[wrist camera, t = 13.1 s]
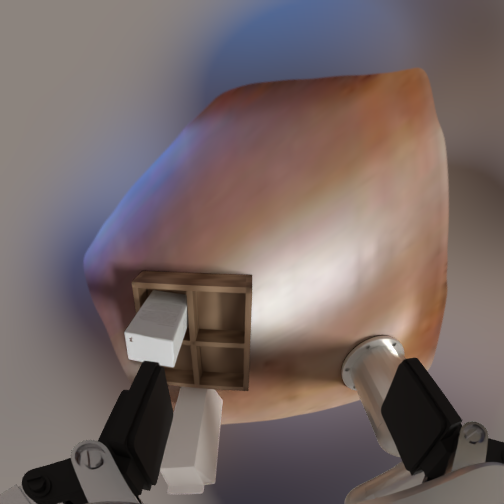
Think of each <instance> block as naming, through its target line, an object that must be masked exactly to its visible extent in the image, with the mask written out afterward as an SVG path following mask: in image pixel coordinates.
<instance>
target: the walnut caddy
mask: <svg viewBox="0 0 504 504" xmlns="http://www.w3.org/2000/svg"><path fill="white" fill-rule="evenodd" d="M132 289H133V296H134V303H135V310H136V314H137V312H138V311H139V310H140V308H141V307H142V305H143V304H144V302H145V301H146V299H147V298H148V297H149V295H150V294H151V292H152V291H153V290H157V291H164V292H171V293H178V294H186V295H187V308H188V322H189V323H188V326H187V329H186V332H185V335H184V338H183V341H182V344H181V347H180V350H179V353H178V356H177V360H176V363H175V366H174V367H167V366H162V367H164V370H165V375H166V380H167V385H172V386H181V387H192V388H203V389H218V390H240V391H248V386H249V360H250V334H251V307H252V275H236V274H207V273H183V272H161V271H142V272H141V273H140V274H139V275H138V276H137V277H136V278H135V279H134V280H133V281H132ZM160 366H161V365H160Z"/></svg>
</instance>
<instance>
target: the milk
mask: <svg viewBox="0 0 504 504" xmlns="http://www.w3.org/2000/svg"><path fill="white" fill-rule="evenodd" d="M222 404H223V400H222V399H221V397H220V396H219V395H218V393H217V392H216V390H215V389H203V388H192V387H181V388H180V391H179V395H178V399H177V402H176V406H175V409H174V413H173V421H172V424H171V428H170V432H169V436H168V440H167V444H166V448H165V451H164V455H163V459H162V463H161V467H160V471H161V473H162V475H163V477H164V479H165V481H166V483H167V484H168V491H167V493H168V494H201V493H203V491H204V485H208V484H214V483H215V477H216V467H217V456H218V445H219V434H220V424H221V414H222Z"/></svg>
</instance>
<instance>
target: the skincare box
mask: <svg viewBox="0 0 504 504" xmlns="http://www.w3.org/2000/svg"><path fill="white" fill-rule="evenodd" d="M188 323H189V322H188V308H187V295H186V294H178V293H171V292H164V291H157V290H153V291H152V292H151V294H150V295H149V297H148V298H147V299H146V301H145V302H144V304H143V305H142V307H141V308H140V310H139V311H138V312H137V314H136V315H135V317H134V318H133V320H132V321H131V323H130V324H129V326H128V327H127V329H126V330H125V332H124V334H125V340H126V346H127V353H128V359H129V360H135V361H140V362H143V361H151V362H158V363H159V364H160V365H161V366H167V367H174V366H175V363H176V360H177V356H178V353H179V350H180V347H181V344H182V341H183V338H184V335H185V332H186V329H187V326H188Z"/></svg>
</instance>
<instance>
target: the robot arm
mask: <svg viewBox="0 0 504 504" xmlns="http://www.w3.org/2000/svg"><path fill="white" fill-rule="evenodd" d="M341 375H342V379H343V381H344V383H345V385H346V386H347V387H349V388H350V389H352V390H356V391H357V392H358V395H359V397H360V399H361V402H362V404H363V406H364V409H365V411H366V413H367V416H368V418H369V421H370V423H371V425H372V428H373V430H374V433H375V435H376V438H377V440H378V443H379V444H380V446H381V447H382V449H384V450H385V451H386V452H388V453H389V454H391V455H395V456H397V457H401V459H402V462H401V463H399V464H398V465H396V466H395V467H393V468H392V469H390V470H388V471H386V472H385V473H383V474H381V475H379V476H377V477H375V478H373V479H371V480H369V481H367V482H365V483H363V484H361V485H359V486H357V487H356V488H354V489H353V490H352V491H350V492H349V493H348V495H347V497H346V499H345V504H504V442H499V441H496V440H492V439H489V438H488V432H487V430H486V428H485V427H484V426H483V425H482V424H480V423H478V422H473V421H472V422H467V423H465V424H464V425H463V426H462V425H461V422H462V420H461V418H460V417H459V415H458V414H457V412H456V411H455V409H454V408H453V406H452V405H451V404H450V402H449V401H448V399H447V398H446V396H445V395H444V394H443V392H442V391H441V389H440V388H439V387H438V385H437V384H436V383H435V381H434V380H433V378H432V377H431V376H430V375H429V373H428V372H427V370H426V369H425V368H424V366H423V365H422V364H421V362H420V361H419V360H418V359H417V358H410V359H406V358H405V357H404V349H403V346H402V345H401V343H400V342H399V341H398V340H397V339H395V338H393V337H391V336H377V337H373V338H371V339H368V340H366V341H364V342H362V343H361V344H359V345H358V346H357V347H355V348H354V349H353V350H352V351H351V352H350V353H349V355H348V356H347V357H346V359H345V361H344V362H343V365H342V369H341ZM172 421H173V409H172V404H171V400H170V395H169V390H168V385H167V380H166V375H165V370H164V367H162V366H160V364H159V363H158V362H151V361H143V363H142V365H141V367H140V369H139V371H138V373H137V375H136V377H135V379H134V381H133V383H132V385H131V388H130V390H123V391H122V392H121V394H120V396H119V398H118V400H117V402H116V404H115V406H114V408H113V410H112V412H111V414H110V416H109V419H108V420H107V423H106V425H105V427H104V429H103V431H102V433H101V435H100V438H99V440H98V441H95V440H86V441H82V442H80V443H78V444H77V445H76V446H75V447H74V448H73V450H72V452H71V458H69V459H66V460H63V461H60V462H56V463H54V464H50V465H47V466H43V467H39V468H35V469H32V470H30V471H28V472H27V473H26V474H25V475H24V477H23V479H22V485H21V486H19V487H18V486H17V485H15V486H13V487H11V488H10V489H8V490H6V491H5V492H3V493H2V494H0V504H143V502H142V501H141V499H140V498H139V495H141V493H142V489H144V490H149V491H150V489H151V485H156V483H157V479H158V476H159V471H160V467H161V463H162V459H163V455H164V451H165V448H166V444H167V440H168V436H169V432H170V428H171V424H172Z"/></svg>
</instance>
